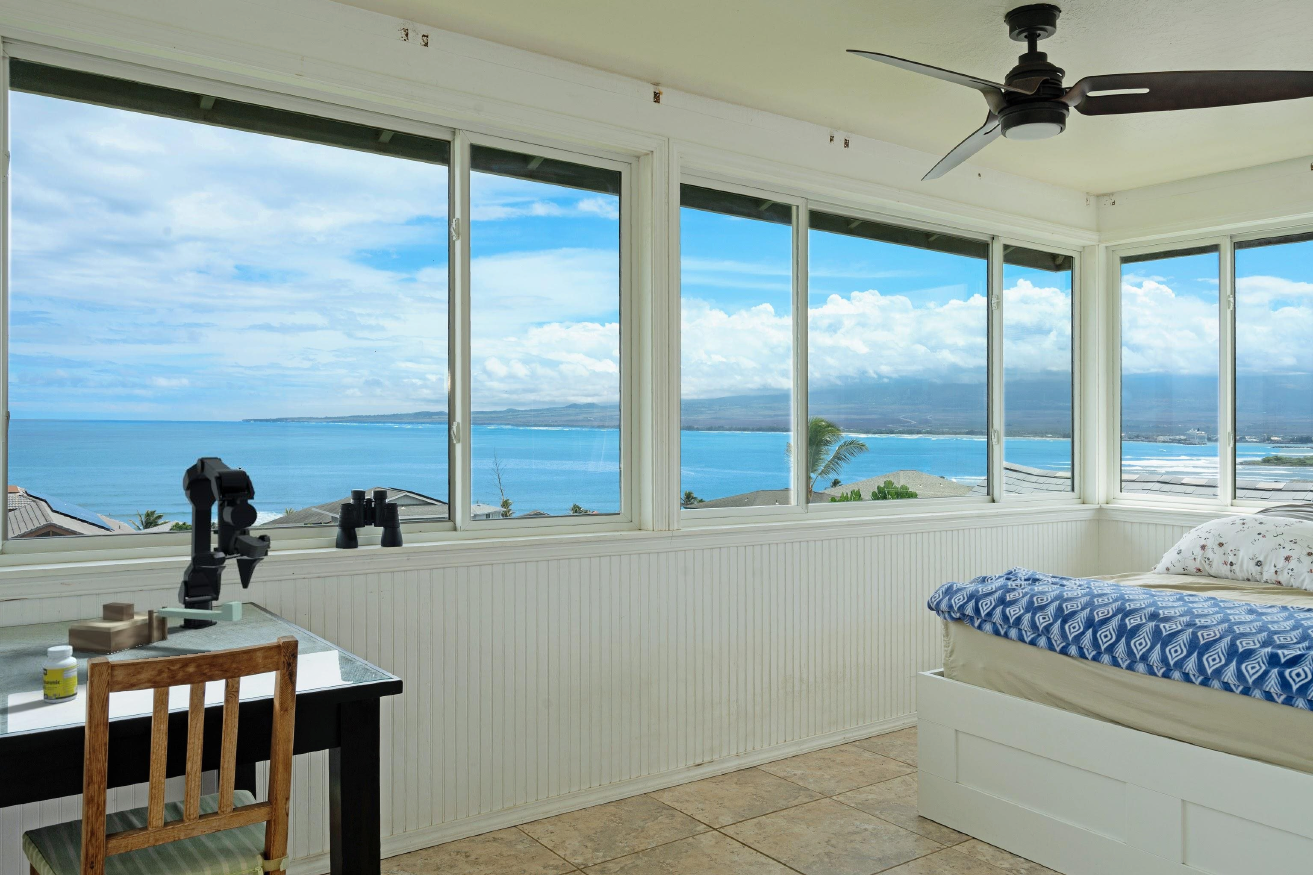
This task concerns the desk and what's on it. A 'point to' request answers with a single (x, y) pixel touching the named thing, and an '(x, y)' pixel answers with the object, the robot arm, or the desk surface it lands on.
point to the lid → (115, 618)
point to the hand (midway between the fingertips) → (231, 591)
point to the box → (119, 636)
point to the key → (206, 613)
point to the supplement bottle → (60, 675)
